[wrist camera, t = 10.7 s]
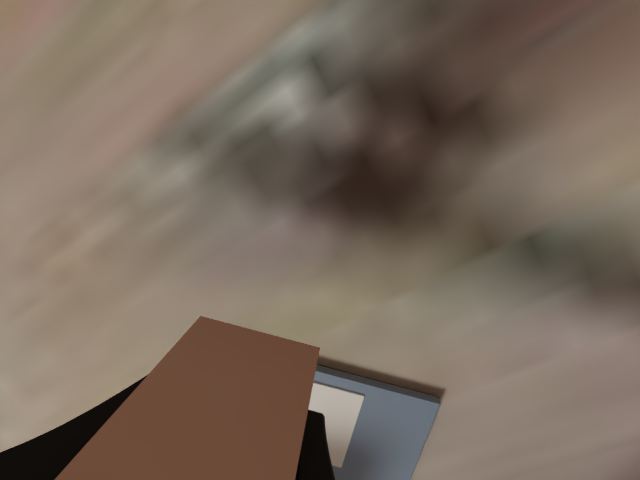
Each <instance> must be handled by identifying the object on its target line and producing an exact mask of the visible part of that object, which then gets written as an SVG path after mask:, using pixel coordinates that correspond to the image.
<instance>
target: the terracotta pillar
mask: <svg viewBox="0 0 640 480" xmlns="http://www.w3.org/2000/svg"><path fill="white" fill-rule="evenodd" d="M319 350H320V348H319V347H315V346H311V345H307V344H304V343H300V342H296V341H292V340H289V339H285V338H281V337H277V336H273V335H270V334H266V333H262V332H258V331H255V330H251V329H247V328H243V327H240V326H236V325H232V324H228V323H225V322H221V321H217V320H213V319H210V318H206V317H202V316H200V317H199V319H198V320H197V321H196V322H195V323H194V324H193V325H192V326H191V327H190V329H189V330H188V331H187V332H186V333H185V334H184V335H183V336H182V338H181V339H180V340H179V341H178V342H177V343H176V344H175V345H174V347H173V348H172V349H171V350H170V351H169V352H168V353H167V354H166V355H165V357H164V358H163V359H162V360H161V361H160V362H159V363H158V364H157V366H156V367H155V368H154V369H153V370H152V371H151V372H150V373H149V374H148V376H147V377H146V378H145V379H144V380H143V381H142V382H141V383H140V385H139V386H138V387H137V388H136V389H135V390H134V391H133V392H132V394H131V395H130V396H129V397H128V398H127V399H126V400H125V401H124V402H123V404H122V405H121V406H120V407H119V408H118V409H117V410H116V411H115V413H114V414H113V415H112V416H111V417H110V418H109V419H108V420H107V421H106V423H105V424H104V425H103V426H102V427H101V428H100V429H99V430H98V432H97V433H96V434H95V435H94V436H93V437H92V438H91V439H90V441H89V442H88V443H87V444H86V445H85V446H84V447H83V448H82V449H81V451H80V452H79V453H78V454H77V455H76V456H75V457H74V458H73V460H72V461H71V462H70V463H69V464H68V465H67V466H66V467H65V468H64V470H63V471H62V472H61V473H60V474H59V475H58V476H57V477H56V479H55V480H295V477H296V472H297V466H298V461H299V456H300V451H301V445H302V440H303V435H304V429H305V424H306V419H307V413H308V408H309V403H310V398H311V392H312V387H313V382H314V376H315V371H316V366H317V360H318V355H319Z"/></svg>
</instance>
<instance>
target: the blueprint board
mask: <svg viewBox="0 0 640 480" xmlns="http://www.w3.org/2000/svg"><path fill="white" fill-rule="evenodd" d="M439 406H440V402H439V399H438V397H436V396H432V395H428V394H425V393H421V392H417V391H413V390H410V389H406V388H402V387H398V386H395V385H391V384H387V383H383V382H380V381H376V380H372V379H368V378H365V377H361V376H357V375H353V374H350V373H346V372H342V371H338V370H335V369H331V368H327V367H323V366H320V365H317V366H316V371H315V376H314V382H313V387H312V392H311V398H310V403H309V408H308V410H312V411H316V412H319V413H323V415H324V417H325V429H326V437H327V443H328V449H329V454H330V459H331V463H332V468H333V472H334V476H335V480H410V478H411V476H412V473H413V471H414V468H415V466H416V463H417V461H418V458H419V456H420V453H421V451H422V448H423V446H424V443H425V441H426V438H427V436H428V433H429V431H430V428H431V426H432V423H433V421H434V418H435V416H436V413H437V411H438V408H439Z"/></svg>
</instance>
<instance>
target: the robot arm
mask: <svg viewBox="0 0 640 480" xmlns="http://www.w3.org/2000/svg"><path fill="white" fill-rule="evenodd" d="M147 376H148V375H147ZM147 376H145V377H144V378H142V379H141V380H139V381H137V382H136V383H134V384H133V385H131V386H129V387H128V388H126V389H125V390H123V391H121V392H120V393H118V394H116V395H115V396H113V397H111V398H110V399H108V400H106V401H105V402H103V403H101V404H100V405H98V406H96V407H94V408H93V409H91V410H89V411H87V412H85V413H83V414H82V415H80V416H78V417H76V418H74V419H72V420H71V421H69V422H67V423H65V424H63V425H61V426H59V427H57V428H55V429H53V430H51V431H49V432H47V433H45V434H43V435H40V436H38V437H36V438H34V439H32V440H29V441H27V442H25V443H23V444H20V445H18V446H15V447H13V448H10V449H8V450H5V451H3V452H0V480H55V479H56V477H57V476H58V475H59V474H60V473H61V472H62V471H63V470H64V468H65V467H66V466H67V465H68V464H69V463H70V462H71V461H72V460H73V458H74V457H75V456H76V455H77V454H78V453H79V452H80V451H81V449H82V448H83V447H84V446H85V445H86V444H87V443H88V442H89V441H90V439H91V438H92V437H93V436H94V435H95V434H96V433H97V432H98V430H99V429H100V428H101V427H102V426H103V425H104V424H105V423H106V421H107V420H108V419H109V418H110V417H111V416H112V415H113V414H114V413H115V411H116V410H117V409H118V408H119V407H120V406H121V405H122V404H123V402H124V401H125V400H126V399H127V398H128V397H129V396H130V395H131V394H132V392H133V391H134V390H135V389H136V388H137V387H138V386H139V385H140V383H141V382H142V381H143V380H144V379H145V378H146V377H147ZM295 480H335V476H334V472H333V468H332V463H331V459H330V454H329V449H328V443H327V437H326V429H325V417H324V415H323V413H319V412H316V411H312V410H308V413H307V419H306V424H305V429H304V435H303V440H302V445H301V451H300V456H299V461H298V466H297V472H296V477H295Z"/></svg>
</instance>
